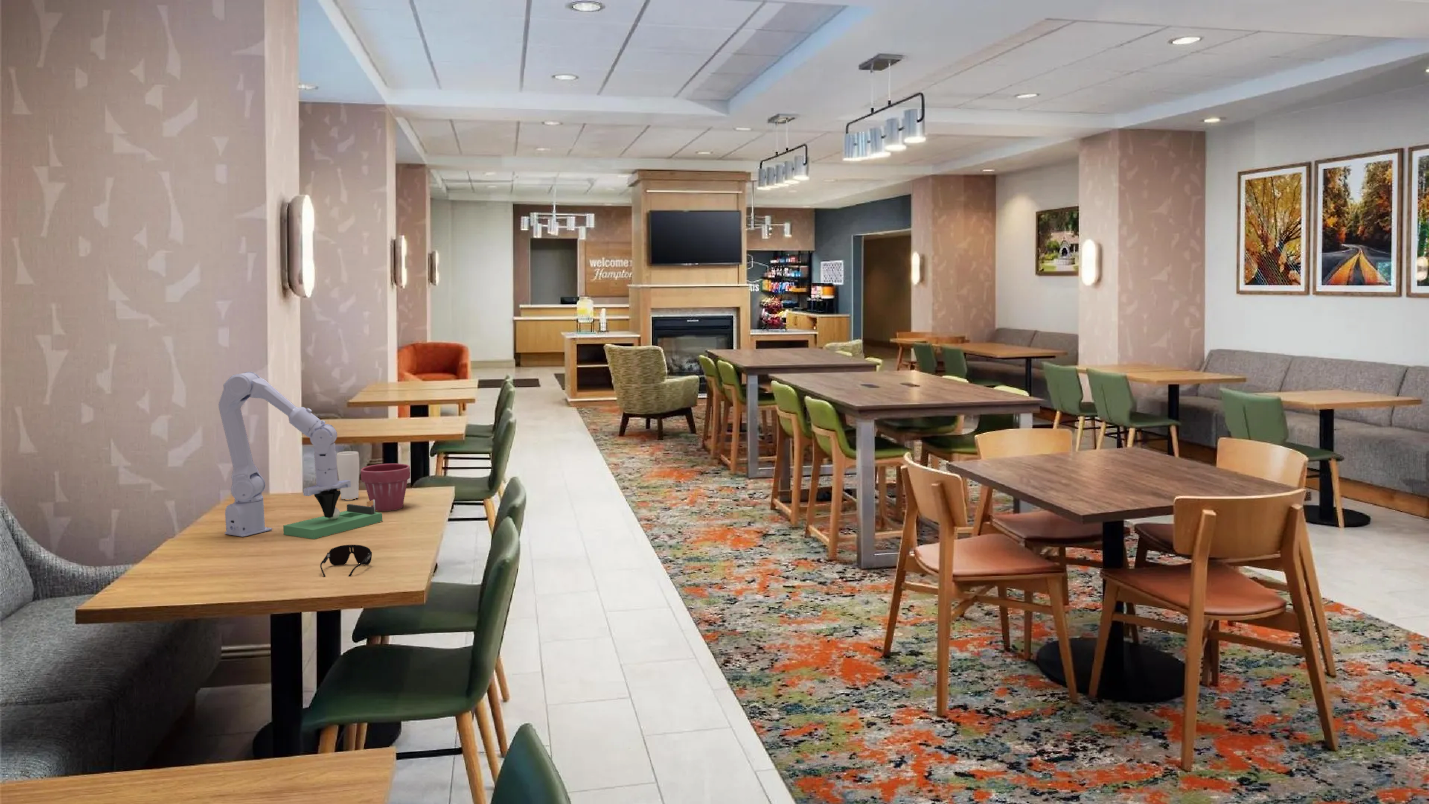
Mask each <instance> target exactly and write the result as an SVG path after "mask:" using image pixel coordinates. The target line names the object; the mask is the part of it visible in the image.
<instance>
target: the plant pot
mask: <svg viewBox="0 0 1429 804" xmlns="http://www.w3.org/2000/svg"><path fill="white" fill-rule="evenodd" d="M360 477H361V478H360V481H361V482H362V483H364V486H365V490H366V493H367V497H368V501H372V500H375V510H378V511H377V512H391V510H392V511H397V510H401V509H402V508H403V507H404V502H405V497H406V496H405V495H406V492H407V491H406V490H407V485H408V484H407V483H408V481H409V479H410V478H411V468H410V464H406V463H381V464H380V463H379V464H372V465H367V466H364V467H362V468H360ZM370 507H373V505H372V506H370Z"/></svg>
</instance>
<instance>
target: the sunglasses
mask: <svg viewBox="0 0 1429 804" xmlns="http://www.w3.org/2000/svg"><path fill="white" fill-rule="evenodd" d="M351 554H353V556H354V559H355V561H356V563H357V565H356V566H355V567H353V568H352V569H351V571H350V572H349V574H348V577H351V575H352V576H353V573H354V572H355V570H356V569H357V568H358V567H360V566H362V565H361V564H368V565H370V563H372V556H373V553H372V550H371V549H370V547H367V546H365V545H362V544H344V545H343V544H342V545H338V546H335V547H332V548H330V550H329V552H327V553H326V555H325V557H324V558H323V560H322V561H320V564H319V567H320V570H321V573H322V575H323V578H326V574H325V572H324V569H323V567H322V565H323V564H326V562H327V561H328V560H329V563H330V564H331V565H332V566H341V565H342V566H345V565H346V564H347V563H348V561H349V558H350V557H351ZM359 563H360V564H359ZM344 564H345V565H344Z"/></svg>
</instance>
